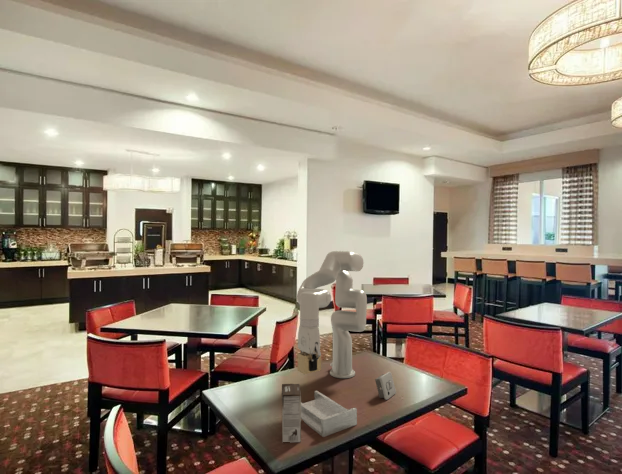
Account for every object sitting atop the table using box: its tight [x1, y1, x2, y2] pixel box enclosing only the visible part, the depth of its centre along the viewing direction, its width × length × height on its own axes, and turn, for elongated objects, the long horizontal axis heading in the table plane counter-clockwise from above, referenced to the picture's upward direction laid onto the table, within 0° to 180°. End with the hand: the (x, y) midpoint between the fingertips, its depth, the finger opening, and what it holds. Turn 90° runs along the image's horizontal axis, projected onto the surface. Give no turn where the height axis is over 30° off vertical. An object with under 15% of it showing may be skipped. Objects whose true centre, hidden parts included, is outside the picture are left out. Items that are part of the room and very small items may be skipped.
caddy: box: [301, 390, 358, 438], centre depth 138 cm, size 24×15×6 cm, turn 33°
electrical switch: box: [374, 371, 397, 401], centre depth 157 cm, size 9×5×9 cm, turn 141°
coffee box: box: [281, 383, 302, 443], centre depth 125 cm, size 9×6×16 cm
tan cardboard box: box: [297, 351, 322, 375], centre depth 144 cm, size 5×8×7 cm, turn 123°
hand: (309, 367), depth 144 cm, fingers closed on tan cardboard box, 5 cm apart
